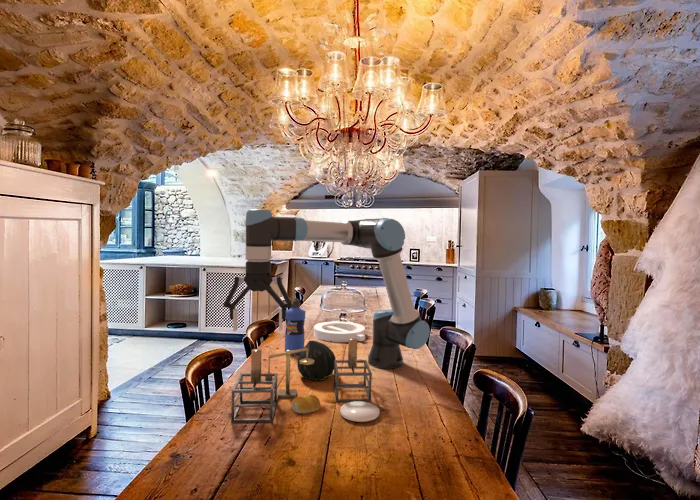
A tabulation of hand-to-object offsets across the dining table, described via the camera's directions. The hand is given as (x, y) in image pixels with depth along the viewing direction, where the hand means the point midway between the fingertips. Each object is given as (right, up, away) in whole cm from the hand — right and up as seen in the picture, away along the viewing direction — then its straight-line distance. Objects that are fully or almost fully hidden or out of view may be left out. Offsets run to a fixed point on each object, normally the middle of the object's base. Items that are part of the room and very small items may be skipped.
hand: (258, 329), depth 119 cm
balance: (+7, -25, +13) cm, 29 cm away
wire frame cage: (-1, -25, +1) cm, 25 cm away
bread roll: (+14, -26, +4) cm, 30 cm away
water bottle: (+2, -23, +62) cm, 66 cm away
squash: (+15, -25, +31) cm, 43 cm away
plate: (+31, -26, +1) cm, 41 cm away
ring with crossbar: (+22, -23, +95) cm, 100 cm away
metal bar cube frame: (+29, -26, +17) cm, 42 cm away
